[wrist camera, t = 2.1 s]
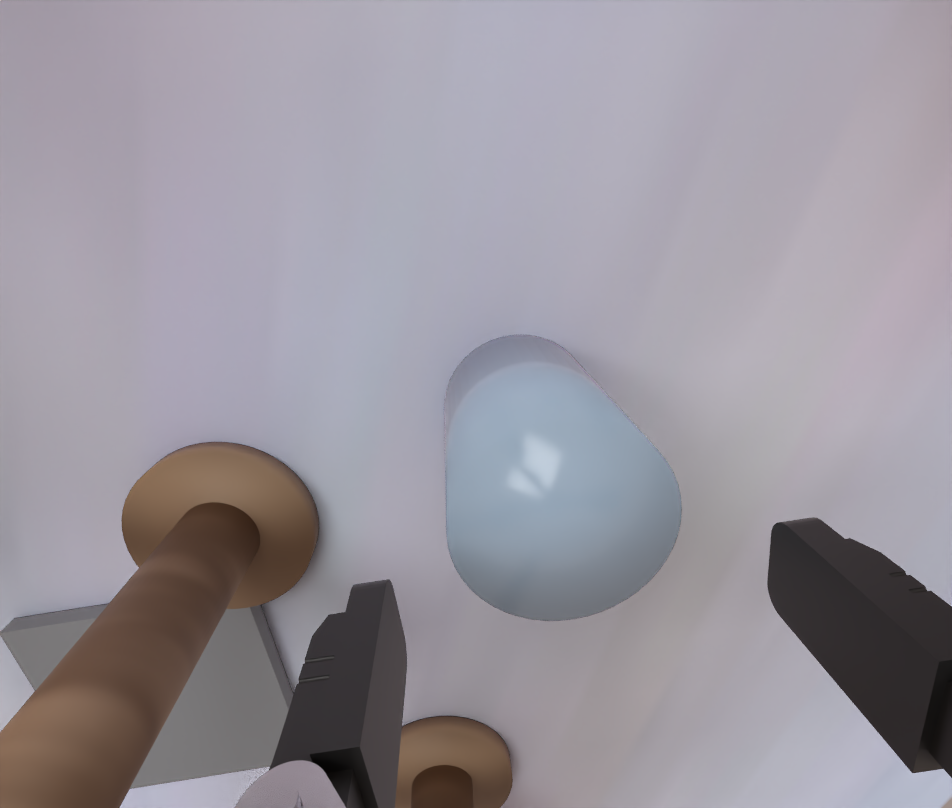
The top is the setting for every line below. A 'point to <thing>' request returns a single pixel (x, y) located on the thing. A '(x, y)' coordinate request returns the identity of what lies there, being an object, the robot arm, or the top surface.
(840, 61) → the top surface
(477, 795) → the post
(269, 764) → the mat
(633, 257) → the top surface
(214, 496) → the post
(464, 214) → the top surface
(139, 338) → the top surface
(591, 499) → the pale blue egg shape
